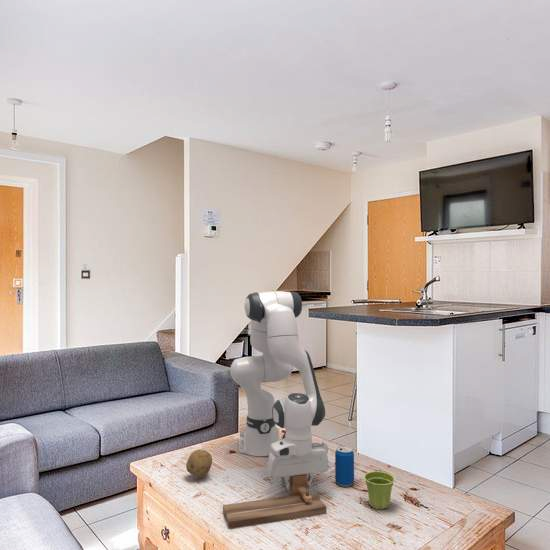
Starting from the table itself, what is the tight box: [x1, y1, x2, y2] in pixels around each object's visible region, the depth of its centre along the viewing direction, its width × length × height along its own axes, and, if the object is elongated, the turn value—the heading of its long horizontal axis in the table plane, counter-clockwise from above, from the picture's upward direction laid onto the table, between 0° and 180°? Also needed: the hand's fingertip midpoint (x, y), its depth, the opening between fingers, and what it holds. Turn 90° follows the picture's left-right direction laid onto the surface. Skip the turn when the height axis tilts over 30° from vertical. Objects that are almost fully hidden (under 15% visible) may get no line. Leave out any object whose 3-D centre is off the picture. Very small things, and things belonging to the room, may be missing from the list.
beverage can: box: [334, 445, 355, 488], centre depth 161 cm, size 6×6×12 cm
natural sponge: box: [185, 449, 213, 479], centre depth 165 cm, size 9×9×10 cm
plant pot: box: [363, 470, 396, 510], centre depth 145 cm, size 9×9×9 cm
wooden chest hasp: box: [289, 474, 312, 502], centre depth 147 cm, size 11×5×8 cm, turn 17°
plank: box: [222, 491, 327, 530], centre depth 141 cm, size 10×30×2 cm, turn 106°
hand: (298, 487), depth 151 cm, fingers closed on wooden chest hasp, 5 cm apart
